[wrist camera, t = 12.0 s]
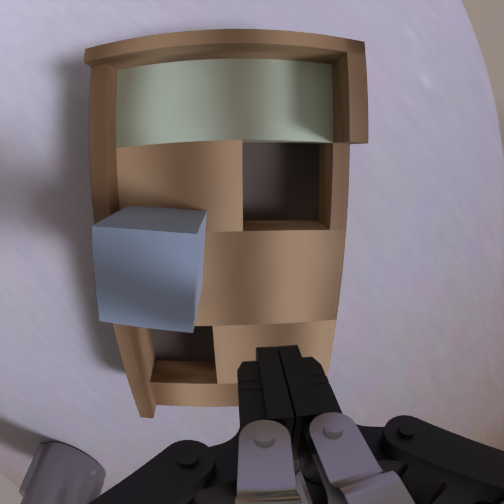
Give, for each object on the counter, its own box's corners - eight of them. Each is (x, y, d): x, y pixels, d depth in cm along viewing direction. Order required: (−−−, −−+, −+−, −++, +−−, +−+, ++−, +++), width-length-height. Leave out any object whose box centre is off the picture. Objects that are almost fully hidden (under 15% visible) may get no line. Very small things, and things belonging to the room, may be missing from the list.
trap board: (151, 379, 23) (138, 426, 18) (120, 72, 16) (85, 49, 11) (314, 375, 24) (330, 421, 19) (331, 67, 17) (364, 42, 12)
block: (129, 279, 17) (99, 321, 13) (128, 205, 16) (91, 226, 11) (202, 286, 18) (192, 332, 13) (206, 210, 16) (196, 234, 12)
